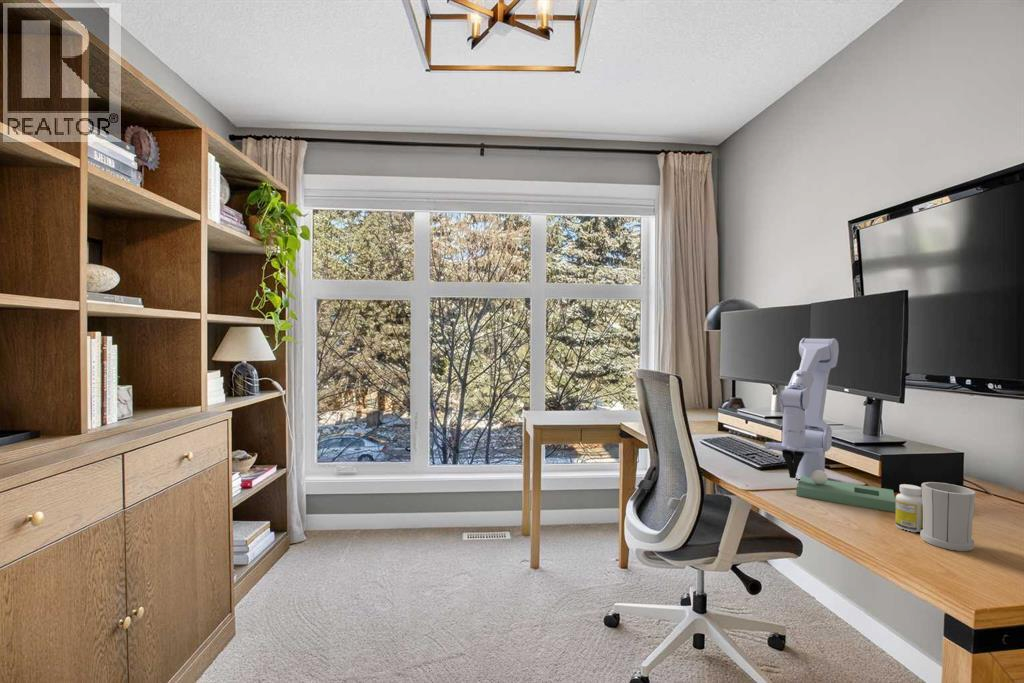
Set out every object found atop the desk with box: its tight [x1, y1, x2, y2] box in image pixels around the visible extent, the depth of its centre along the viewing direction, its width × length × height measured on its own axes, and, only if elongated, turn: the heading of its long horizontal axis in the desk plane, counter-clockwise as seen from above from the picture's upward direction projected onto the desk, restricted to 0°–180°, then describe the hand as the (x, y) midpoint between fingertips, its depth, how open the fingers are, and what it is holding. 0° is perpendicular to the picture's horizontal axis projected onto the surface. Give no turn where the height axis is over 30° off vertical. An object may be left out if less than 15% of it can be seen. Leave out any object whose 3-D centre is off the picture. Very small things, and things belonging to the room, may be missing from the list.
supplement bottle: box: [895, 483, 923, 533], centre depth 117 cm, size 5×5×10 cm
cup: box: [919, 481, 977, 552], centre depth 109 cm, size 10×9×12 cm
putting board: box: [795, 476, 896, 513], centre depth 139 cm, size 13×22×2 cm, turn 56°
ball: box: [811, 470, 829, 485], centre depth 143 cm, size 4×4×4 cm
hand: (792, 477), depth 147 cm, fingers closed
